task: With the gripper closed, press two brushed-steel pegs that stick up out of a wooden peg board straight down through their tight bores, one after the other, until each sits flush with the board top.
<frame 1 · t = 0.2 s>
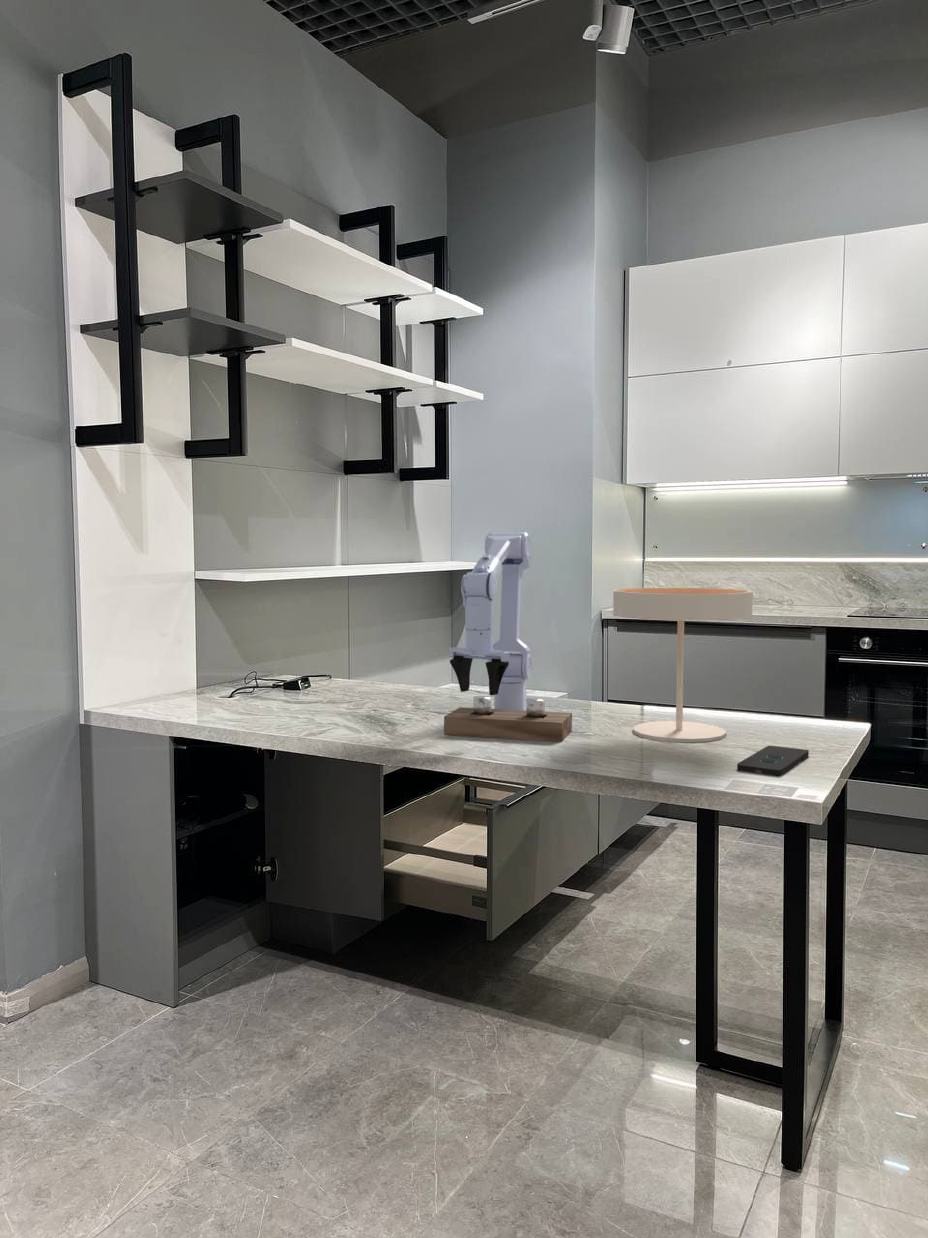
hand: (479, 692, 200), 10 cm above the counter, fingers open, 7 cm apart
wooden peg board: (508, 732, 207), on the counter
peg 1: (482, 706, 208), point 6 cm above the counter, slide at 3.5 cm
smart home device: (773, 766, 178), on the counter
desk lamp: (679, 733, 206), on the counter
peg 2: (535, 708, 205), point 6 cm above the counter, slide at 3.5 cm
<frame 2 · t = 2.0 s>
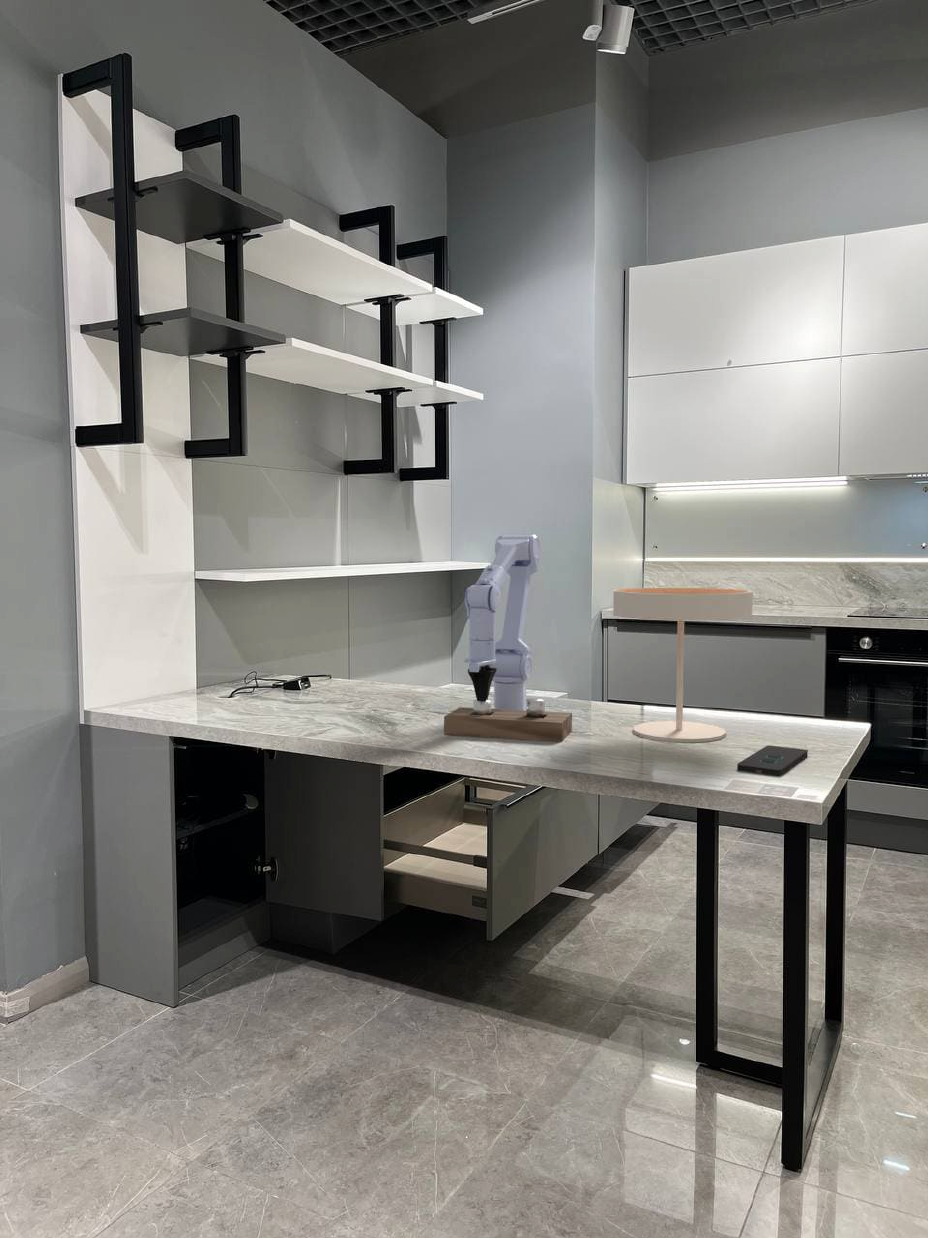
hand: (482, 700, 208), 7 cm above the counter, fingers closed, pressing on peg 1
peg 1: (482, 709, 208), point 5 cm above the counter, slide at 2.8 cm, touching gripper
everything else where it was.
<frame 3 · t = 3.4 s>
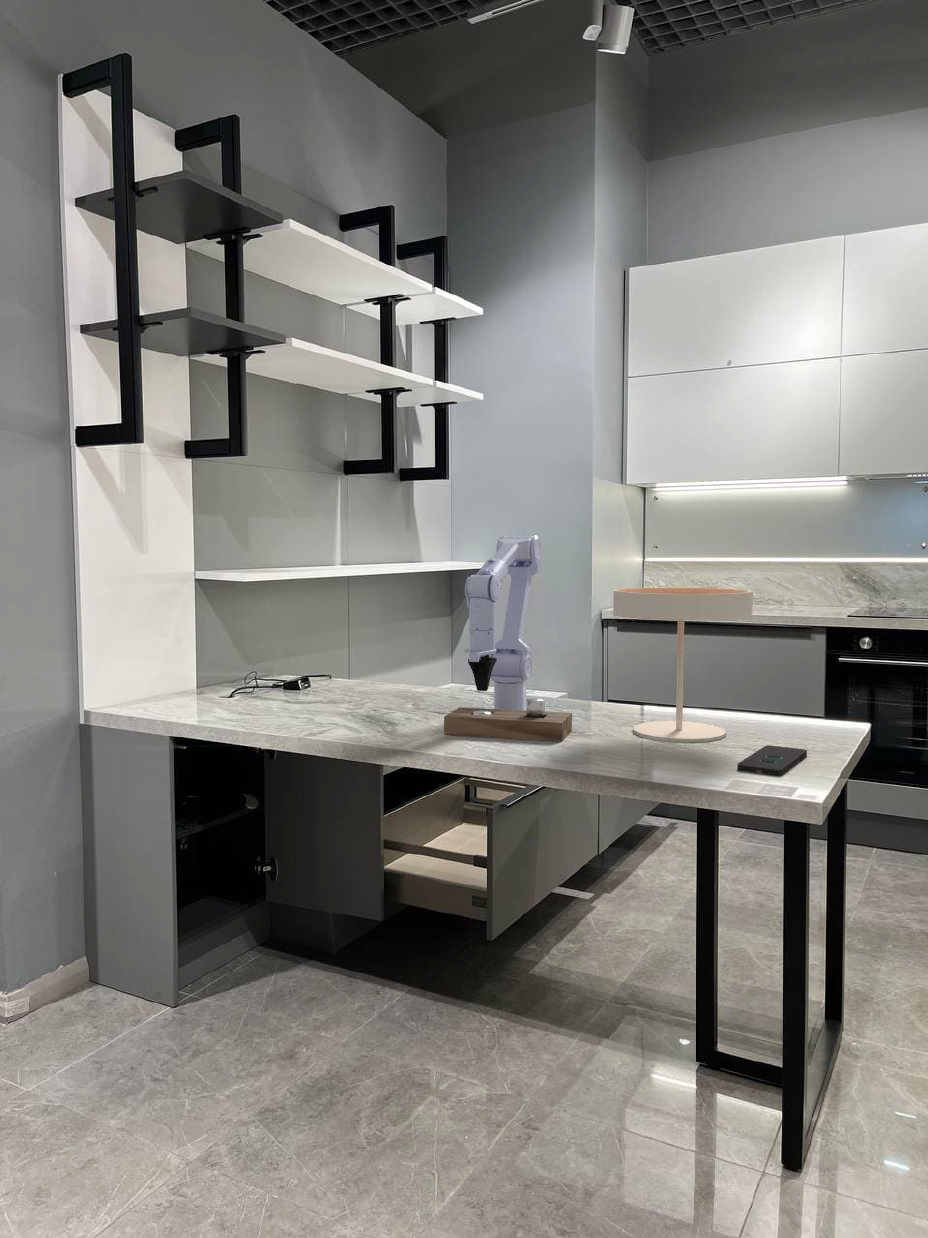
hand: (482, 690, 208), 9 cm above the counter, fingers closed
peg 1: (482, 721, 208), point 2 cm above the counter, slide at 0.2 cm
everything else where it was.
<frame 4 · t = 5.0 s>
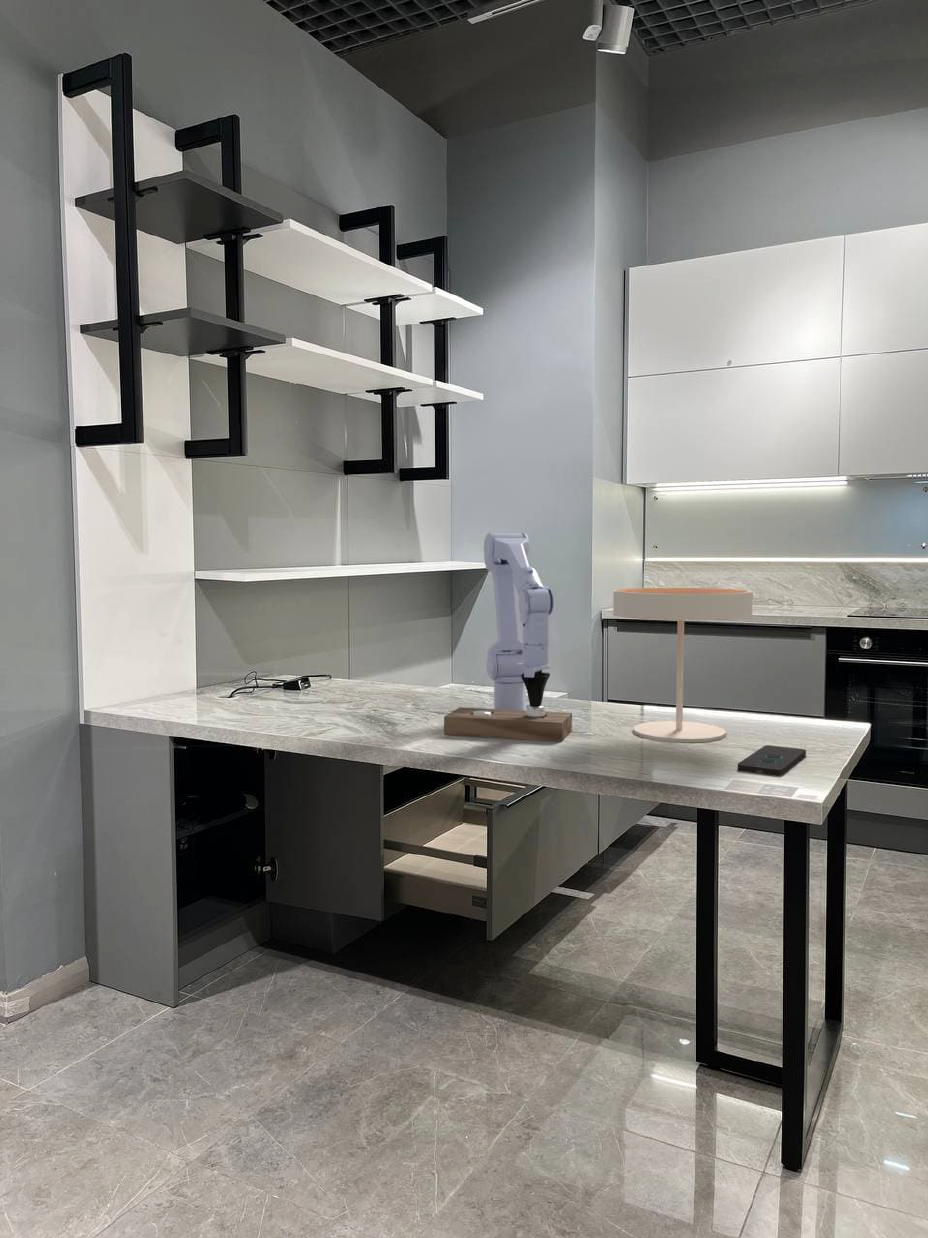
hand: (535, 706, 205), 6 cm above the counter, fingers closed, pressing on peg 2
peg 2: (535, 715, 205), point 4 cm above the counter, slide at 2.1 cm, touching gripper
everything else where it was.
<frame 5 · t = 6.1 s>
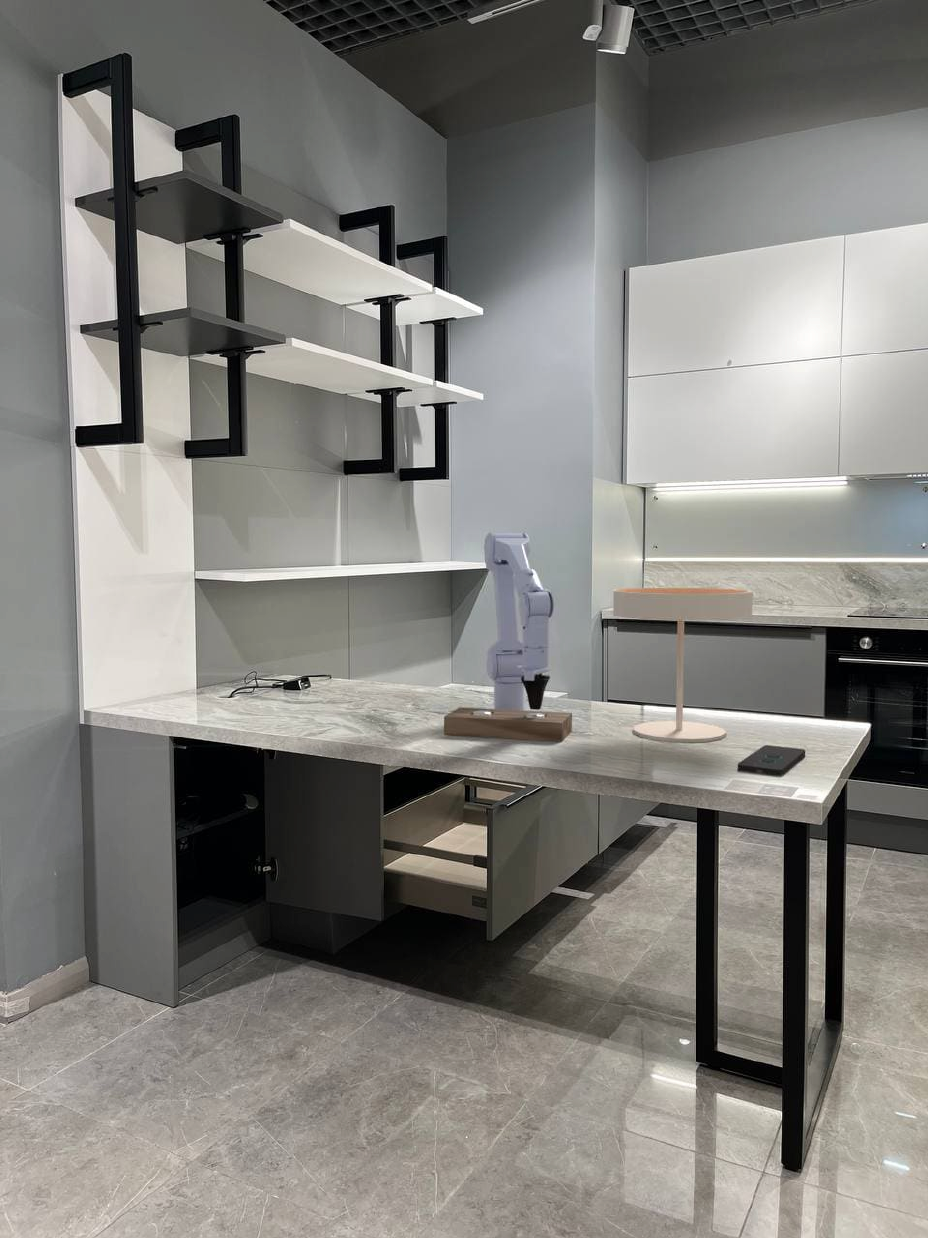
hand: (535, 709, 205), 6 cm above the counter, fingers closed
peg 2: (535, 723, 205), point 2 cm above the counter, slide at 0.2 cm
everything else where it was.
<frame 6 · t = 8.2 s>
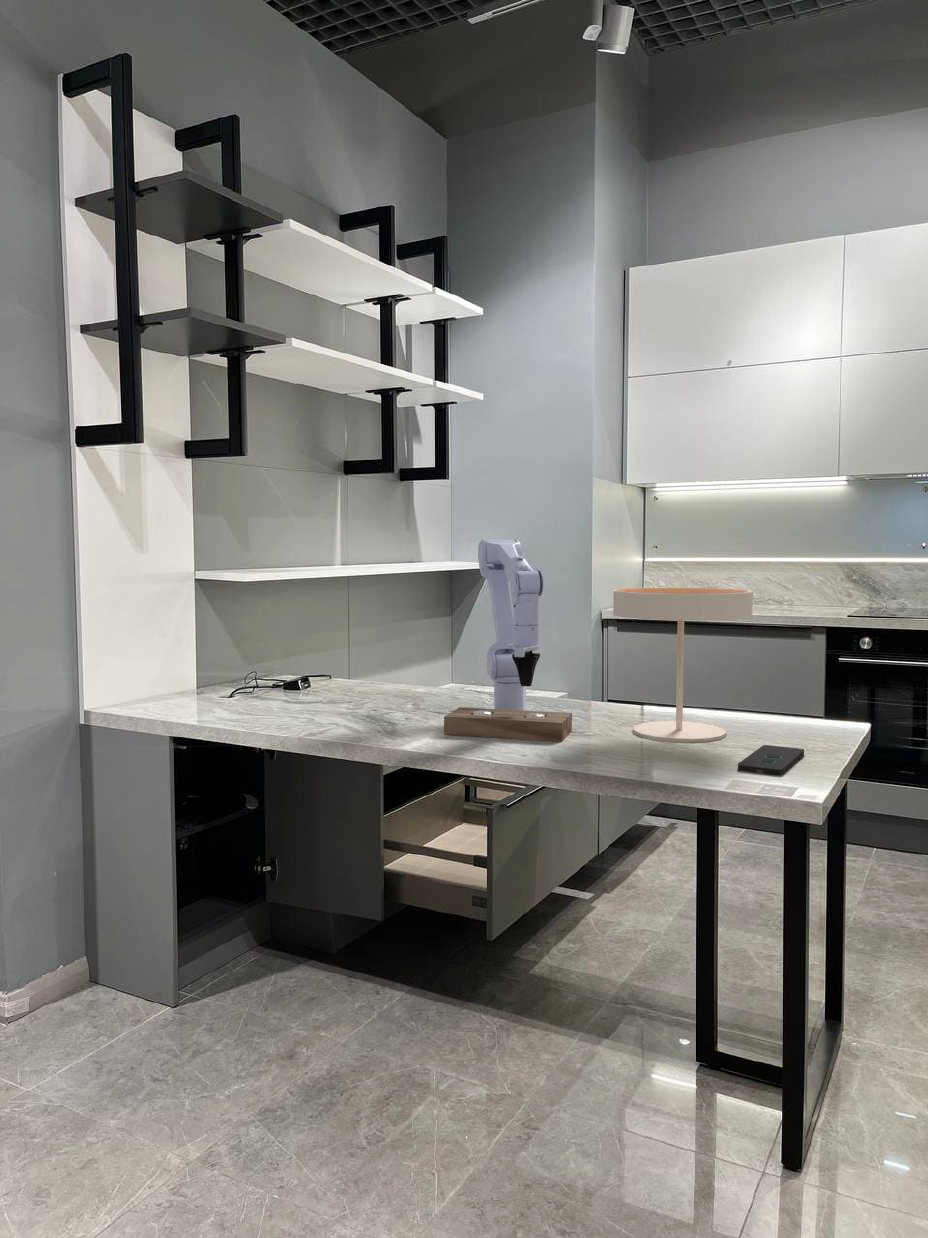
hand: (526, 686, 209), 10 cm above the counter, fingers closed
nothing on the counter moved.
at the end: peg 1 slide at 0.2 cm; peg 2 slide at 0.2 cm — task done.
